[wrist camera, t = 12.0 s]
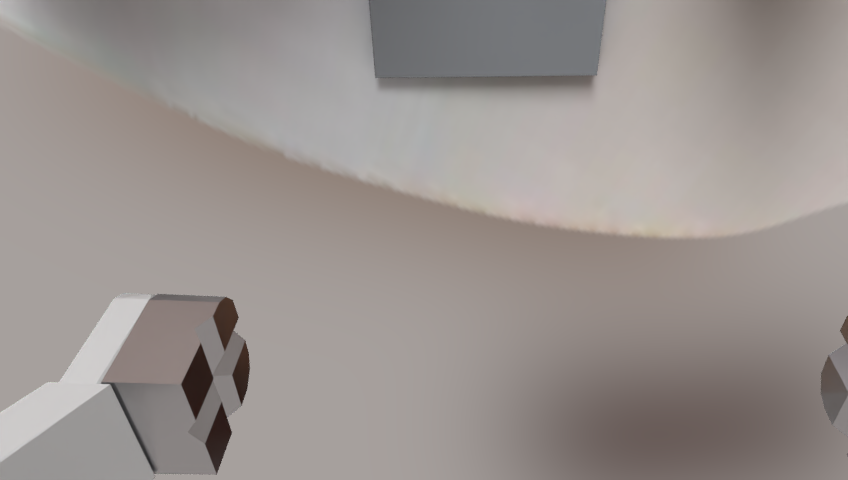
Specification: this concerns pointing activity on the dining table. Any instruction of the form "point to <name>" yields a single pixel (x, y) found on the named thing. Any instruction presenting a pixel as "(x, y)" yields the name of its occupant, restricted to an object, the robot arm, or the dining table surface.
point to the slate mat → (486, 37)
